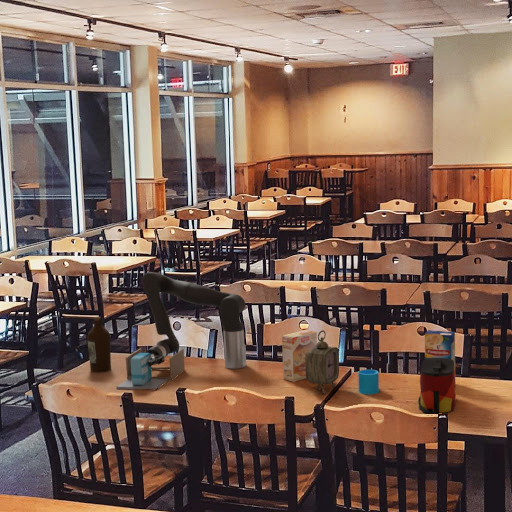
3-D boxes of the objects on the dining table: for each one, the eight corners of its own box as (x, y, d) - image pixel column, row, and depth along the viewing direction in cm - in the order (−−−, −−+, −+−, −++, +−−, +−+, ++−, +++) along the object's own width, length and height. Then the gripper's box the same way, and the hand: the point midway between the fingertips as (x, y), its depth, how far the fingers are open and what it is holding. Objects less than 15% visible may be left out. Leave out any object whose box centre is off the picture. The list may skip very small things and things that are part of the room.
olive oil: (106, 365, 415) (102, 314, 412) (116, 369, 406) (113, 317, 403) (85, 369, 409) (82, 317, 406) (95, 373, 400) (91, 320, 397)
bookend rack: (184, 370, 400) (183, 349, 399) (171, 380, 383) (170, 358, 382) (141, 369, 405) (140, 348, 404) (127, 379, 389) (125, 357, 387)
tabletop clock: (325, 395, 351) (323, 335, 347) (304, 393, 355) (302, 333, 352) (339, 386, 363) (338, 327, 360) (320, 384, 368) (318, 326, 364)
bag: (454, 417, 317) (453, 373, 315) (415, 416, 320) (415, 372, 318) (456, 394, 346) (455, 354, 344) (421, 393, 349) (420, 353, 347)
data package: (141, 386, 372) (140, 358, 371) (132, 385, 373) (130, 358, 372) (152, 378, 384) (150, 352, 382) (142, 378, 385) (140, 351, 383)
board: (167, 381, 382) (167, 379, 382) (156, 390, 369) (155, 387, 369) (129, 380, 387) (129, 377, 387) (116, 388, 373) (116, 386, 373)
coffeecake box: (294, 382, 373) (292, 337, 371) (282, 379, 378) (281, 335, 376) (318, 375, 383) (317, 331, 380) (307, 372, 388) (305, 329, 386)
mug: (377, 394, 349) (377, 374, 348) (357, 394, 351) (357, 374, 350) (380, 386, 361) (380, 367, 360) (361, 386, 363) (360, 366, 362)
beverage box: (451, 388, 354) (451, 335, 352) (425, 385, 359) (424, 333, 356) (455, 383, 360) (455, 331, 358) (429, 381, 365) (428, 330, 362)
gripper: (140, 346, 395) (125, 355, 379) (170, 346, 391) (156, 355, 375) (141, 362, 396) (126, 371, 380) (170, 363, 392) (157, 372, 376)
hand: (141, 363), depth 377 cm, fingers open, 6 cm apart
